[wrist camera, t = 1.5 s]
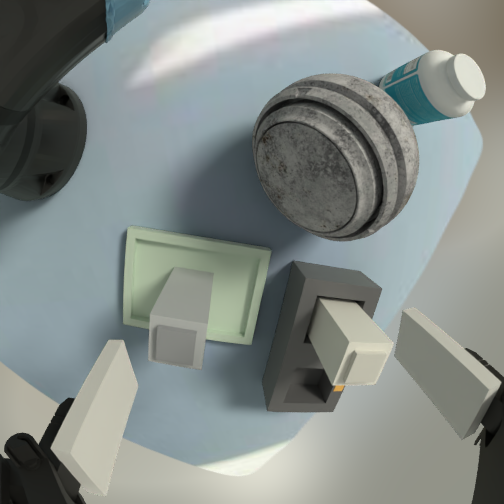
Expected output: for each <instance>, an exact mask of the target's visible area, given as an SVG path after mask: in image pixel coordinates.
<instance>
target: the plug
mask: <svg viewBox="0 0 504 504" xmlns="http://www.w3.org/2000/svg"><path fill="white" fill-rule="evenodd" d="M213 276H214V273H211V272H205V271H199V270H193V269H187V268H181V267H174V269H173V271H172V273H171V275H170V276H169V278H168V280H167V282H166V284H165V286H164V288H163V290H162V292H161V294H160V295H159V297H158V299H157V301H156V303H155V305H154V307H153V309H152V311H151V313H150V323H149V357H148V361H152V362H158V363H163V364H168V365H174V366H180V367H186V368H192V369H199V370H202V363H203V355H204V348H205V341H206V334H207V327H208V319H209V310H210V301H211V293H212V284H213Z"/></svg>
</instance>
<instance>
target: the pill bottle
mask: <svg viewBox="0 0 504 504" xmlns="http://www.w3.org/2000/svg"><path fill="white" fill-rule="evenodd" d="M379 88H380V89H382V90H383V91H384V92H386V93H387V94H388V95H389V96H390V97H392V99H393V100H394V101H395V102H396V103H397V104H398V105H399V106H400V107H401V109H402V110H403V111H404V113H405V115H406V116H407V118H408V120H409V122H410V123H411V126H414V125H419V124H424V123H429V122H434V121H440V120H445V119H451V118H457V117H462V116H464V115H466V114H467V113H469V111H470V110H471V109H472V107H473V104H474V100H479V99H481V98H482V97H483V96H484V94H485V90H486V86H485V80H484V77H483V74H482V72H481V70H480V68H479V67H478V65H477V64H476V63H475V61H474V60H473V59H471V58H470V57H469V56H467V55H465V54H457V55H452V54H450V53H448V52H445V51H442V50H433V51H430V52H428V53H425V54H423V55H421V56H420V57H418V58H416V59H414V60H412V61H410V62H408V63H406V64H404V65H402V66H401V67H399V68H397V69H395V70H393V71H391V72H390V73H388V74H386V75H385V76H384V77H383V78H382V80H381V82H380V85H379Z"/></svg>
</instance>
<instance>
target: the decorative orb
mask: <svg viewBox="0 0 504 504" xmlns="http://www.w3.org/2000/svg"><path fill="white" fill-rule="evenodd" d="M252 148H253V156H254V161H255V165H256V170H257V174H258V177H259V180H260V182H261V185H262V187H263V189H264V190H265V192H266V194H267V196H268V197H269V199H270V200H271V201H272V203H273V204H274V205H275V206H276V208H277V209H278V210H279V211H280V212H281V213H282V214H283V215H284V216H285V217H286V218H288V219H289V220H290V221H291V222H293V223H294V224H296V225H297V226H299V227H301V228H303V229H305V230H307V231H308V232H310V233H312V234H314V235H316V236H319V237H321V238H325V239H328V240H333V241H352V240H356V239H361V238H365V237H367V236H370V235H372V234H373V233H375V232H377V231H378V230H379V229H380V228H382V227H383V226H385V225H386V224H388V223H389V222H390V221H391V220H393V219H394V218H395V217H396V216H397V215H398V214H399V213H400V212H401V210H402V209H403V208H404V206H405V205H406V204H407V202H408V200H409V198H410V196H411V194H412V192H413V190H414V187H415V184H416V180H417V176H418V170H419V151H418V144H417V140H416V136H415V133H414V131H413V128H412V126H411V123H410V122H409V120H408V118H407V116H406V115H405V113H404V111H403V110H402V109H401V107H400V106H399V105H398V104H397V103H396V102H395V101H394V100H393V99H392V97H390V96H389V95H388V94H387V93H386V92H384V91H383V90H382V89H380V88H379V87H377V86H375V85H374V84H372V83H370V82H368V81H365V80H363V79H360V78H357V77H354V76H349V75H344V74H320V75H314V76H310V77H307V78H304V79H301V80H299V81H297V82H295V83H293V84H291V85H289V86H288V87H286V88H285V89H284V90H282V91H281V92H280V93H278V94H277V95H275V96H274V97H273V98H271V99H270V100H269V101H268V103H267V104H266V105H265V107H264V108H263V110H262V111H261V113H260V115H259V117H258V118H257V121H256V123H255V126H254V130H253V138H252Z"/></svg>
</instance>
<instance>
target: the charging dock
mask: <svg viewBox="0 0 504 504" xmlns="http://www.w3.org/2000/svg"><path fill="white" fill-rule="evenodd" d="M381 291H382V288H381V287H380V286H378V285H377V284H376V283H374V282H373V281H372V280H371V279H369V278H368V277H367V276H366V275H364V274H363V273H362V272H361V271H355V270H349V269H343V268H336V267H330V266H324V265H318V264H312V263H305V262H299V261H293V263H292V267H291V271H290V275H289V280H288V284H287V288H286V292H285V296H284V300H283V304H282V308H281V312H280V316H279V320H278V324H277V328H276V332H275V336H274V340H273V344H272V347H271V351H270V355H269V359H268V362H267V366H266V370H265V373H264V377H263V381H262V385H263V390H264V396H265V402H266V407H267V411H272V412H333V410H334V409H335V406H336V404H337V402H338V400H339V398H340V396H341V394H342V392H343V390H344V387H345V385H375V384H376V382H377V380H378V378H379V376H380V374H381V372H382V370H383V367H384V365H385V363H386V360H387V358H388V356H389V354H390V352H391V349H392V347H393V345H394V343H393V342H392V341H391V340H390V339H389V338H388V336H387V335H386V334H385V333H384V332H383V331H382V330H381V329H380V328H379V327H378V326H377V324H376V323H375V322H374V321H373V320H372V318H373V315H374V312H375V309H376V306H377V303H378V300H379V297H380V294H381Z"/></svg>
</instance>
